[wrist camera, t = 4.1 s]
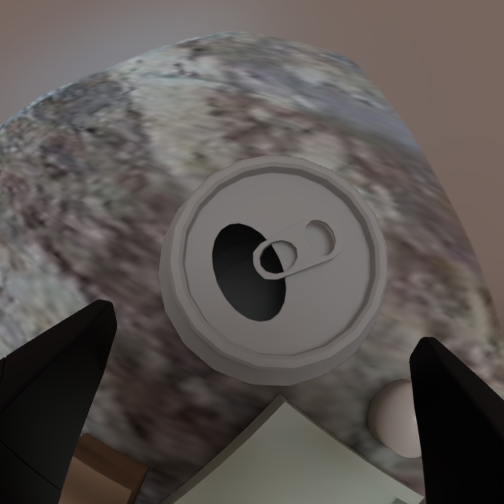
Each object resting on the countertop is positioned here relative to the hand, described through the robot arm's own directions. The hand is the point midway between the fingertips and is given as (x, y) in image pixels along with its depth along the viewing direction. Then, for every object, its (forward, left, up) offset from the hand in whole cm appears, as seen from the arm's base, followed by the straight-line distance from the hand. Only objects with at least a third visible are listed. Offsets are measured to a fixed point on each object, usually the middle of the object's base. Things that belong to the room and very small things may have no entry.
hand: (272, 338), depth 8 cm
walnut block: (-15, 0, -11) cm, 19 cm away
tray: (-9, -11, -11) cm, 18 cm away
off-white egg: (+2, -12, -11) cm, 17 cm away
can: (+2, +1, -12) cm, 12 cm away
